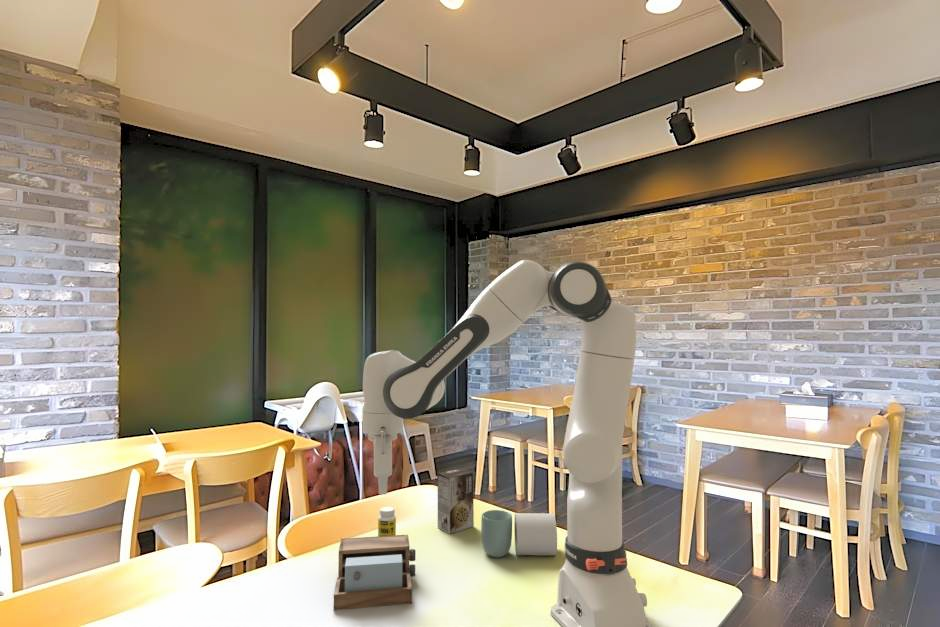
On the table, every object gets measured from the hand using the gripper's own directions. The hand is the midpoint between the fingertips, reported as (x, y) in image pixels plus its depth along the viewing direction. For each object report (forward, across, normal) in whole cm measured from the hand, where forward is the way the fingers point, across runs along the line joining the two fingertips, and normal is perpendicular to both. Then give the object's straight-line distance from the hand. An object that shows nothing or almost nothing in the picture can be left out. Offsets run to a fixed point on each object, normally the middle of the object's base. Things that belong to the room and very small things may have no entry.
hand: (382, 487), depth 112 cm
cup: (+24, +16, -29) cm, 41 cm away
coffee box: (+23, +36, -21) cm, 48 cm away
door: (+23, -1, +2) cm, 23 cm away
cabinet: (+23, +4, +1) cm, 23 cm away
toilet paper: (+24, +15, -39) cm, 48 cm away
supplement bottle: (+23, +30, -1) cm, 38 cm away
